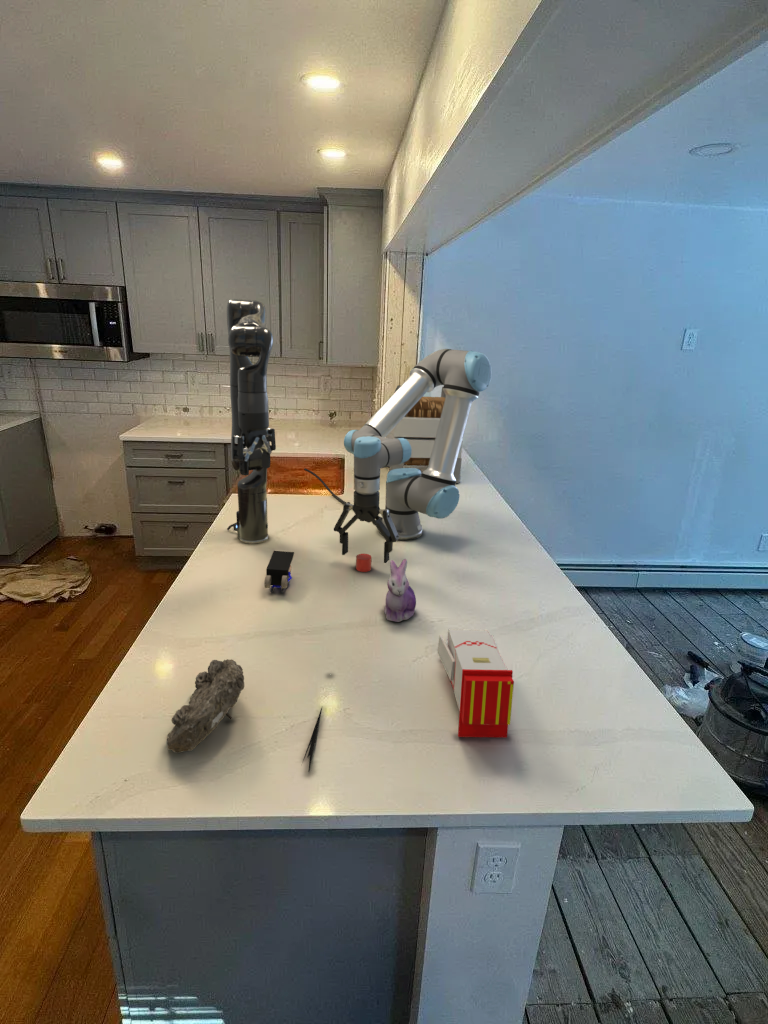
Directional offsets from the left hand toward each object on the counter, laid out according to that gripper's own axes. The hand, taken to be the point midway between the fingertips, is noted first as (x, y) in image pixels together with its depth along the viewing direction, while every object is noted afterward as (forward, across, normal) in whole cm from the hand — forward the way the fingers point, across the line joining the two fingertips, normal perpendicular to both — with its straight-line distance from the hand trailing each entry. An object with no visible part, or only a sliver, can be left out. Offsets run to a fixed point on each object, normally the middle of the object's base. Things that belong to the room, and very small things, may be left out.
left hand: (255, 471), depth 149 cm
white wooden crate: (+33, -132, -10) cm, 137 cm away
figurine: (+33, -6, +41) cm, 53 cm away
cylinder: (+33, -25, +20) cm, 46 cm away
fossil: (+33, +48, +28) cm, 64 cm away
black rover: (+33, -3, +5) cm, 34 cm away
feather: (+33, +38, +46) cm, 68 cm away
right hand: (+30, -25, +20) cm, 44 cm away
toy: (+33, +15, +68) cm, 77 cm away
